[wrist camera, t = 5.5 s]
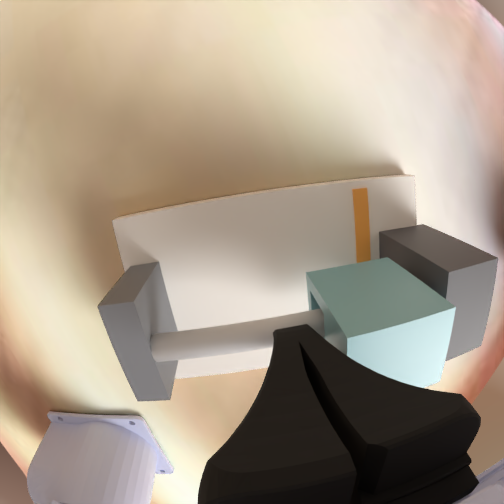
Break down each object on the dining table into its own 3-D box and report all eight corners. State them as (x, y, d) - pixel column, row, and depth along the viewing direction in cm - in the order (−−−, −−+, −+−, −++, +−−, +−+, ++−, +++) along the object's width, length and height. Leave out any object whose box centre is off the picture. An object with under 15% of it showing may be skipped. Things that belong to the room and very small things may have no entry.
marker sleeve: (310, 335, 14) (344, 413, 9) (305, 272, 13) (347, 338, 8) (385, 318, 14) (439, 381, 9) (387, 257, 13) (456, 307, 8)
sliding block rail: (164, 370, 18) (143, 457, 11) (118, 217, 15) (48, 259, 8) (409, 324, 19) (467, 388, 12) (412, 173, 16) (502, 190, 9)
